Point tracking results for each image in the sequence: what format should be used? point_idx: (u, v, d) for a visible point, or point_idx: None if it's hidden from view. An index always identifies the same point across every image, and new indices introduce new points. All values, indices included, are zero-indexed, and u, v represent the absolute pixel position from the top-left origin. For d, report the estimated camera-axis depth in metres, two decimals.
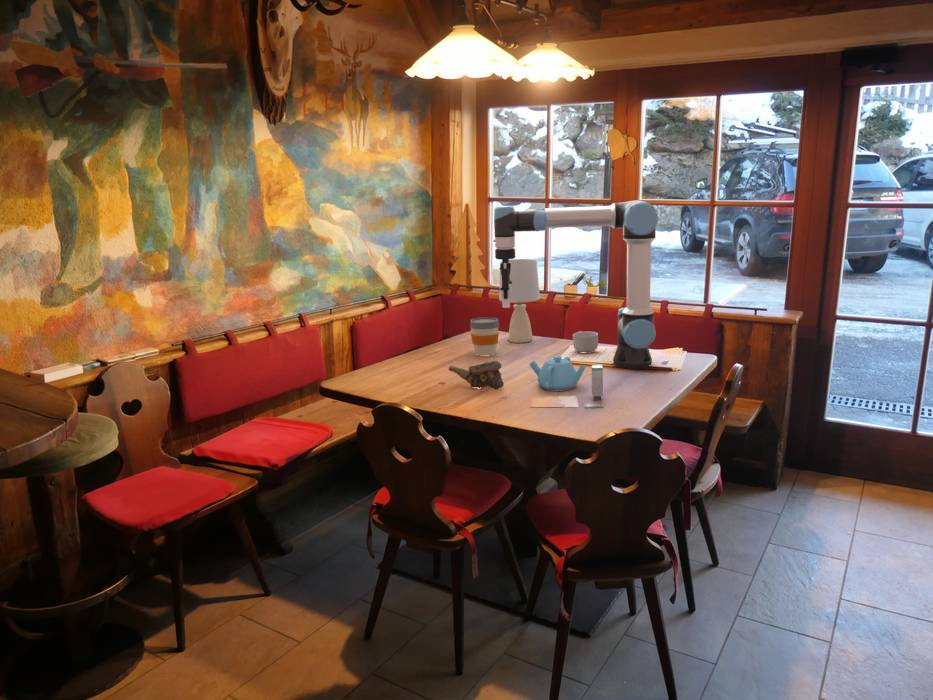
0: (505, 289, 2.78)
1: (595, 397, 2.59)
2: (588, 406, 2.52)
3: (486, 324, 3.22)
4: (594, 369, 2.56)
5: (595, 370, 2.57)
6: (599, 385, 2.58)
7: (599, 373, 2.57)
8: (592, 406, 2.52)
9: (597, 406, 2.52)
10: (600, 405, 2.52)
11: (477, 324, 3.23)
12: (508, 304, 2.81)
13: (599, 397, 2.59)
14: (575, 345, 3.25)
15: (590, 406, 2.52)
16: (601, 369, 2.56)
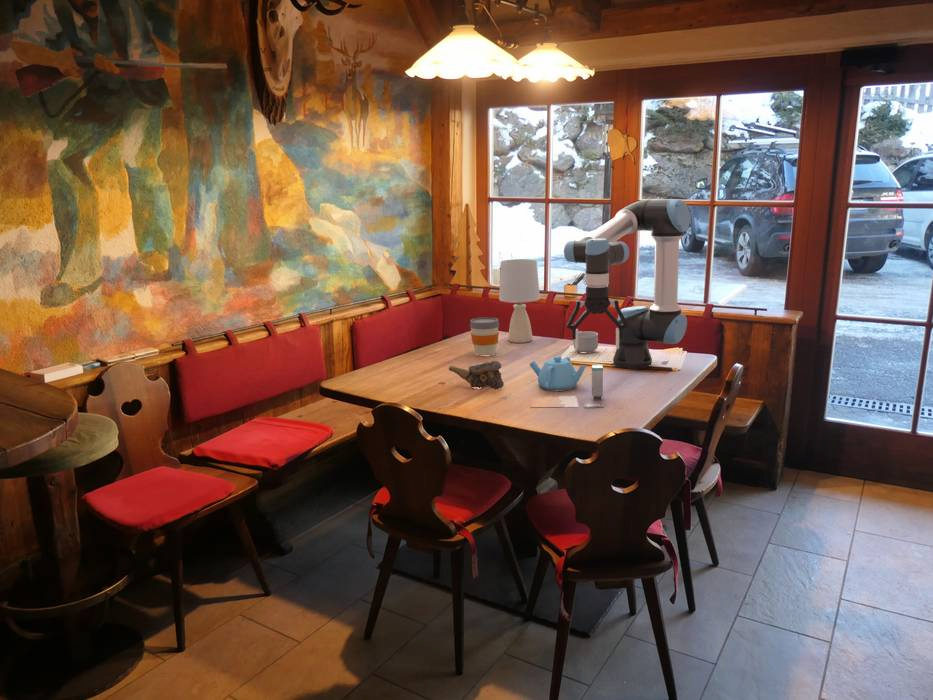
0: None
1: (595, 397, 2.59)
2: (588, 406, 2.52)
3: (486, 324, 3.22)
4: (594, 369, 2.56)
5: (595, 370, 2.57)
6: (599, 385, 2.58)
7: (599, 373, 2.57)
8: (592, 406, 2.52)
9: (597, 406, 2.52)
10: (600, 405, 2.52)
11: (477, 324, 3.23)
12: (575, 345, 2.56)
13: (599, 397, 2.59)
14: None
15: (590, 406, 2.52)
16: (601, 369, 2.56)
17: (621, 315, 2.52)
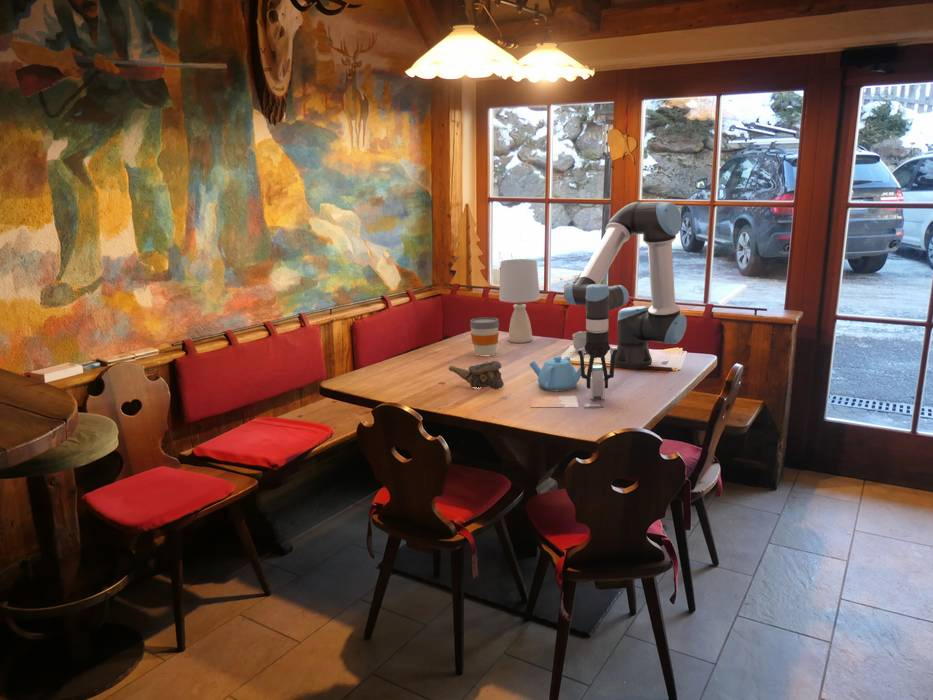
0: None
1: (595, 397, 2.59)
2: (588, 406, 2.52)
3: (486, 324, 3.22)
4: (594, 369, 2.56)
5: (595, 370, 2.57)
6: (599, 385, 2.58)
7: (599, 373, 2.57)
8: (592, 406, 2.52)
9: (597, 406, 2.52)
10: (600, 405, 2.52)
11: (477, 324, 3.23)
12: (590, 395, 2.60)
13: (599, 397, 2.59)
14: (575, 345, 3.25)
15: (590, 406, 2.52)
16: (601, 369, 2.56)
17: (612, 365, 2.56)
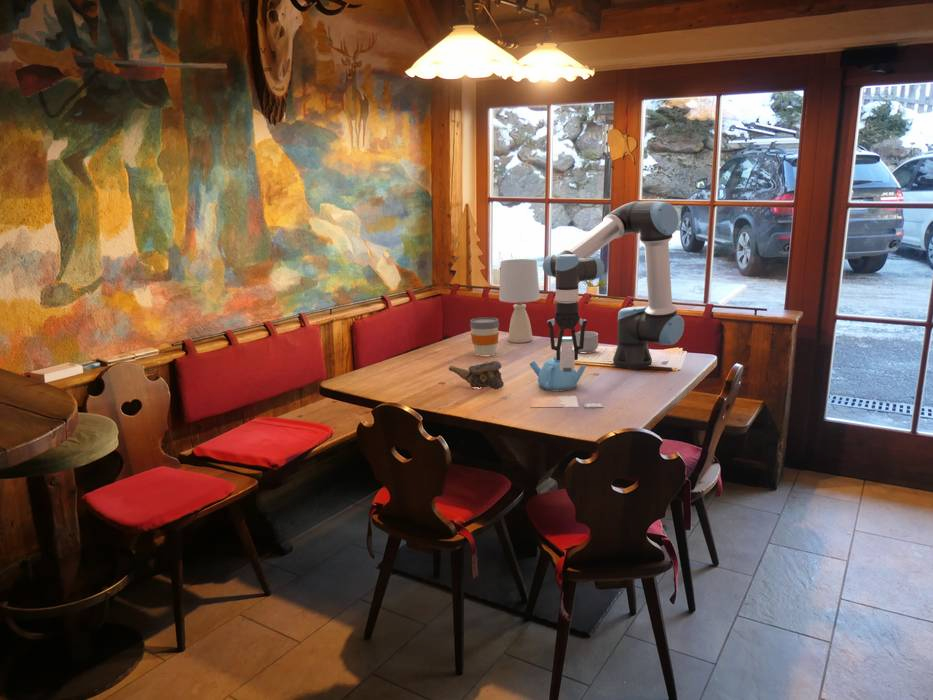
0: None
1: (565, 369, 2.57)
2: (588, 406, 2.52)
3: (486, 324, 3.22)
4: (564, 340, 2.55)
5: (565, 341, 2.55)
6: (568, 357, 2.56)
7: (569, 344, 2.55)
8: (592, 406, 2.52)
9: (597, 406, 2.52)
10: (600, 405, 2.52)
11: (477, 324, 3.23)
12: (560, 366, 2.58)
13: (569, 368, 2.57)
14: None
15: (590, 406, 2.52)
16: (571, 340, 2.55)
17: (582, 336, 2.55)
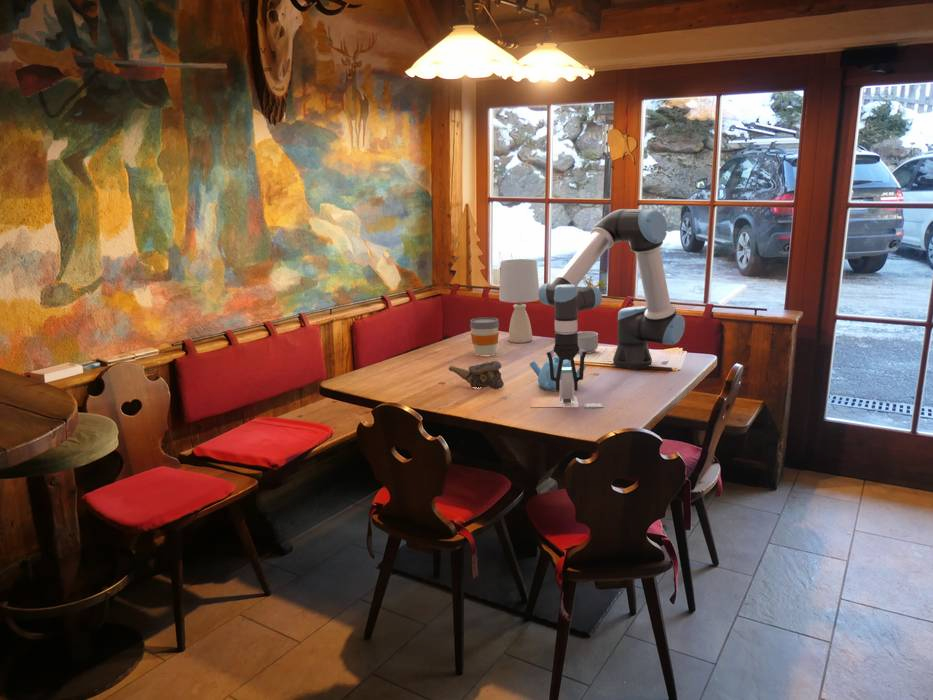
0: None
1: (564, 400, 2.55)
2: (588, 406, 2.52)
3: (486, 324, 3.22)
4: (563, 371, 2.52)
5: (564, 372, 2.52)
6: (568, 388, 2.53)
7: (568, 375, 2.52)
8: (592, 406, 2.52)
9: (597, 406, 2.52)
10: (600, 405, 2.52)
11: (477, 324, 3.23)
12: (559, 397, 2.55)
13: (569, 399, 2.54)
14: None
15: (590, 406, 2.52)
16: (570, 371, 2.52)
17: (582, 367, 2.52)
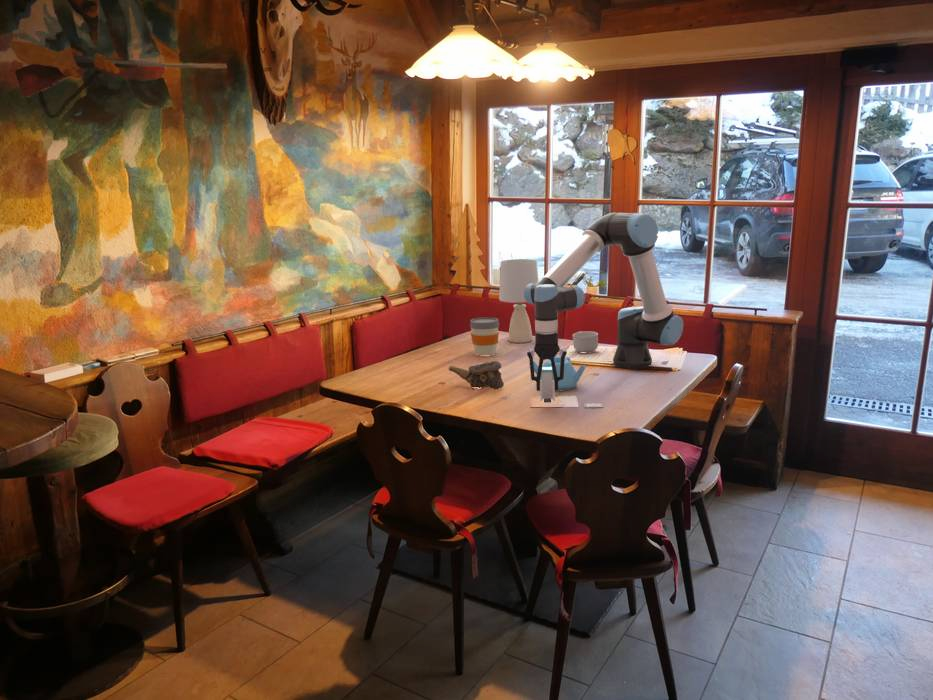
0: None
1: (545, 399, 2.55)
2: (588, 406, 2.52)
3: (486, 324, 3.22)
4: (543, 371, 2.52)
5: (544, 372, 2.52)
6: (548, 387, 2.53)
7: (549, 375, 2.52)
8: (592, 406, 2.52)
9: (597, 406, 2.52)
10: (600, 405, 2.52)
11: (477, 324, 3.23)
12: (540, 397, 2.55)
13: (549, 399, 2.55)
14: (575, 345, 3.25)
15: (590, 406, 2.52)
16: (551, 371, 2.52)
17: (562, 366, 2.52)
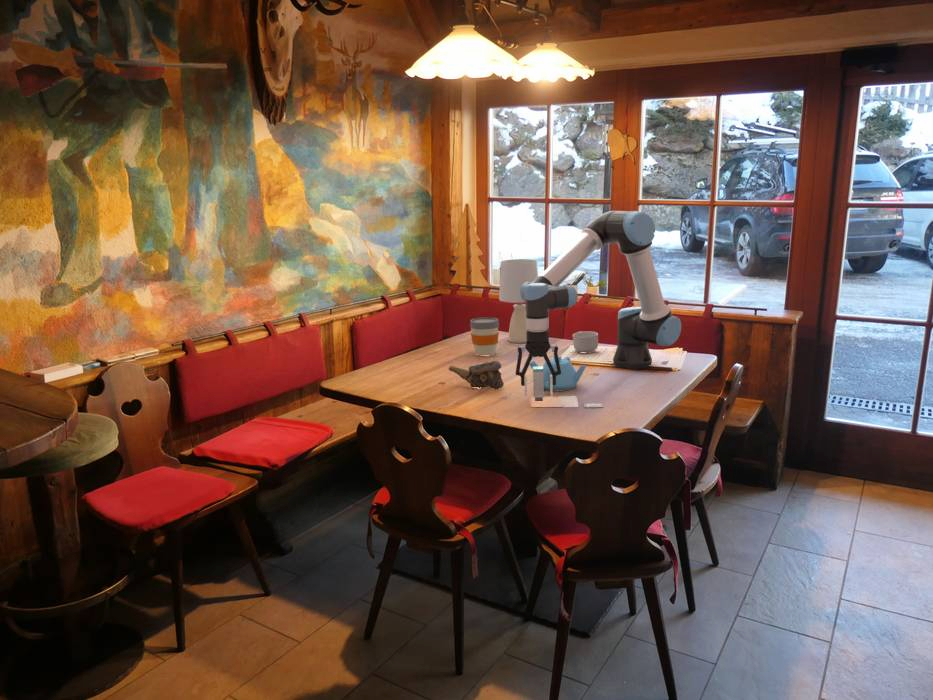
0: None
1: (536, 398, 2.60)
2: (588, 406, 2.52)
3: (486, 324, 3.22)
4: (535, 370, 2.57)
5: (535, 372, 2.57)
6: (539, 386, 2.58)
7: (540, 374, 2.57)
8: (592, 406, 2.52)
9: (597, 406, 2.52)
10: (600, 405, 2.52)
11: (477, 324, 3.23)
12: None
13: (540, 398, 2.60)
14: (575, 345, 3.25)
15: (590, 406, 2.52)
16: (541, 370, 2.57)
17: (557, 362, 2.56)
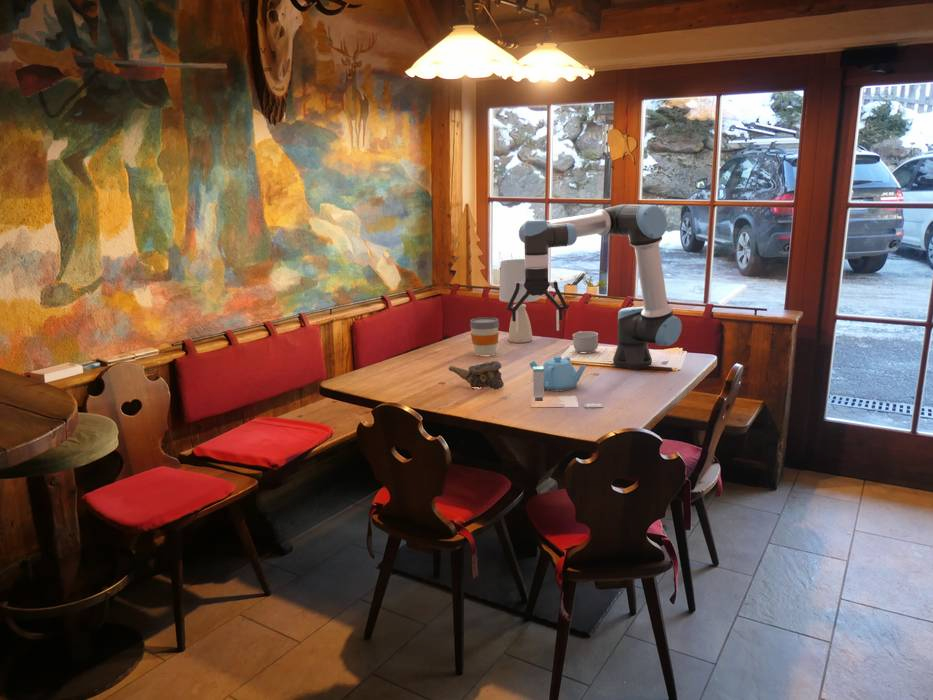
0: (509, 310, 2.55)
1: (536, 398, 2.60)
2: (588, 406, 2.52)
3: (486, 324, 3.22)
4: (535, 370, 2.57)
5: (536, 372, 2.57)
6: (540, 386, 2.58)
7: (540, 374, 2.57)
8: (592, 406, 2.52)
9: (597, 406, 2.52)
10: (600, 405, 2.52)
11: (477, 324, 3.23)
12: (516, 327, 2.55)
13: (540, 398, 2.60)
14: (575, 345, 3.25)
15: (590, 406, 2.52)
16: (542, 370, 2.57)
17: (560, 297, 2.51)
